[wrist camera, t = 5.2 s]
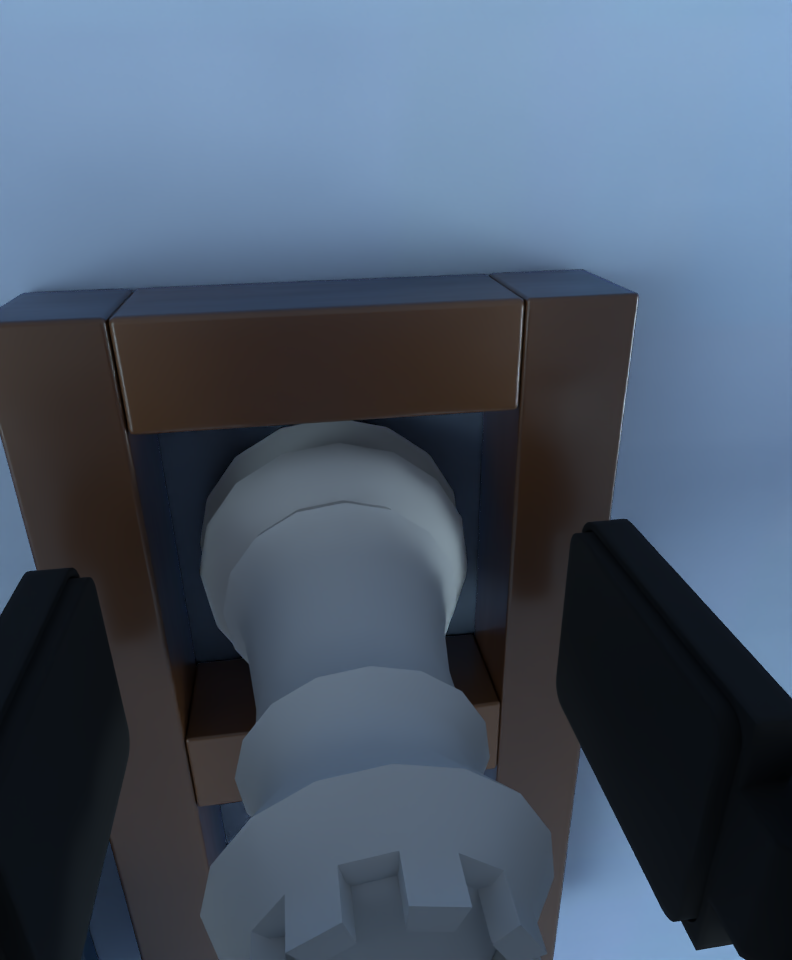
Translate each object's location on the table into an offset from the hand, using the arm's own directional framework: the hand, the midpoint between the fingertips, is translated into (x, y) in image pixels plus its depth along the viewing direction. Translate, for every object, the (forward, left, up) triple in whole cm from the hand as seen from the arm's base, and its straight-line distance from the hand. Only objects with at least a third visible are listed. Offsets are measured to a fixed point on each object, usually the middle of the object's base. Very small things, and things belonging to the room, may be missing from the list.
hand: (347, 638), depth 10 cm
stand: (0, +4, -3) cm, 5 cm away
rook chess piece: (0, 0, -3) cm, 3 cm away
